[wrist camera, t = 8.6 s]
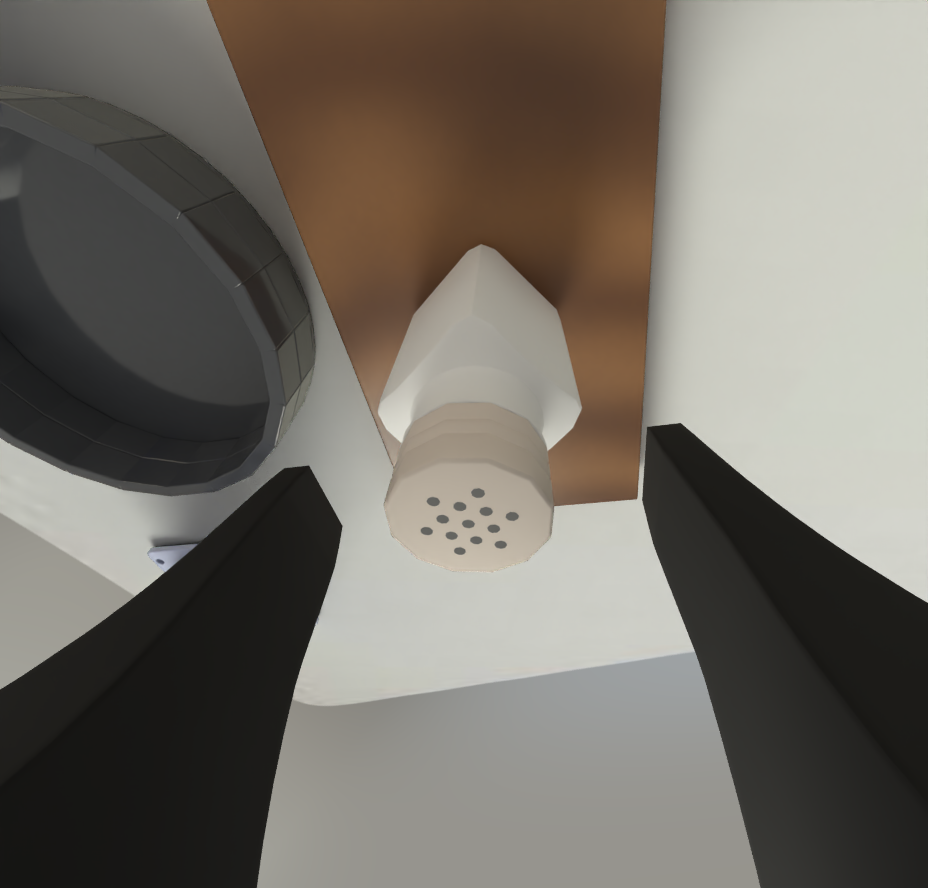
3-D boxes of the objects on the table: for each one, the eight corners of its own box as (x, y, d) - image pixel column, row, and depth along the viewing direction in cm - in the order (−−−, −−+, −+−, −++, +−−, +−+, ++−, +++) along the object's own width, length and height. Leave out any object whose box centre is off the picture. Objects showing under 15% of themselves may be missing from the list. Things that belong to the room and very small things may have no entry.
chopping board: (630, 477, 22) (637, 499, 21) (417, 497, 24) (413, 518, 23) (658, -180, 10) (680, -215, 9) (219, -29, 12) (188, -41, 11)
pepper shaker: (566, 313, 15) (624, 525, 8) (487, 385, 17) (475, 607, 10) (481, 230, 14) (457, 395, 6) (406, 319, 16) (321, 522, 8)
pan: (362, 428, 21) (341, 479, 18) (114, 459, 24) (63, 508, 21) (193, 31, 12) (107, 17, 10) (-170, 147, 15) (-318, 160, 12)
